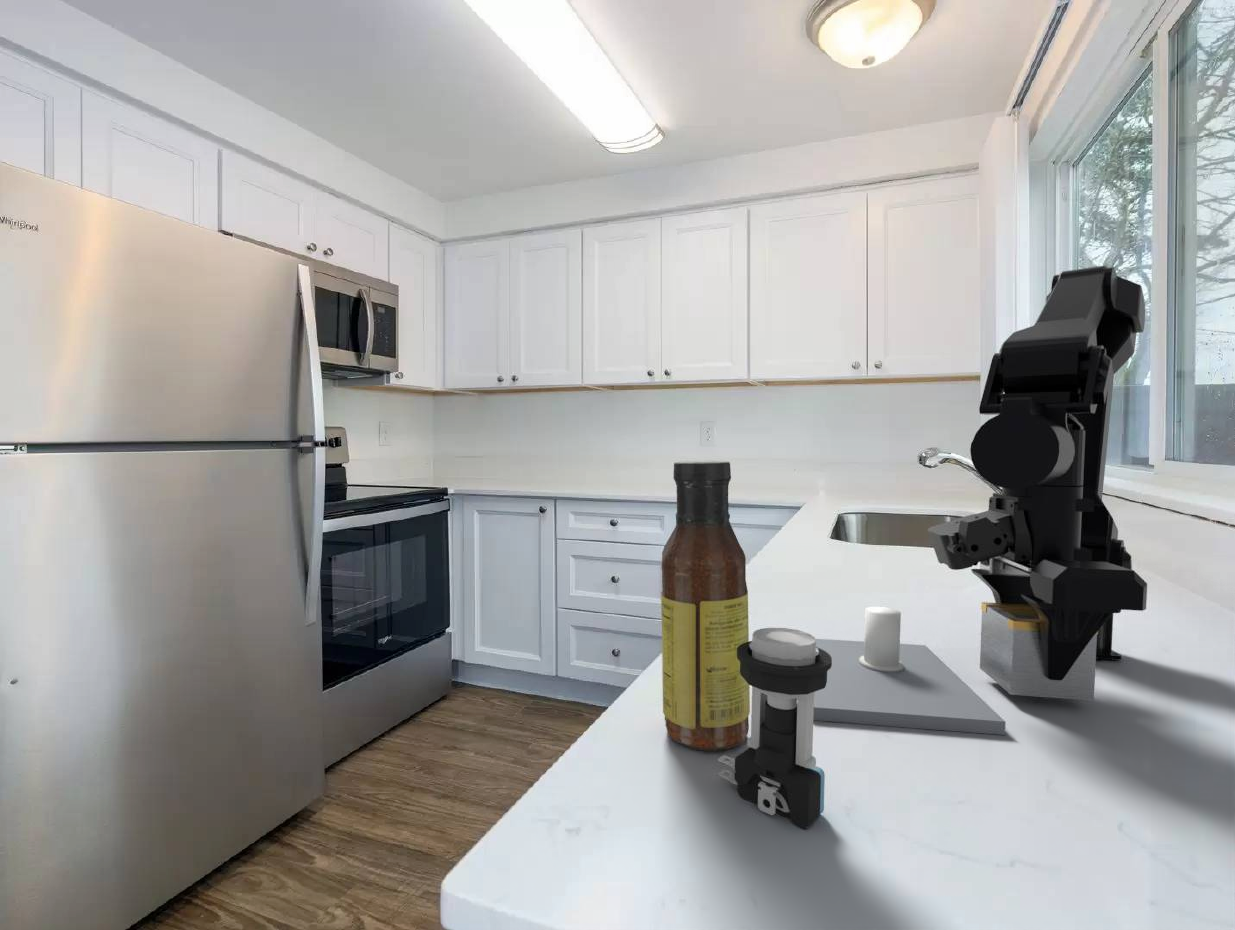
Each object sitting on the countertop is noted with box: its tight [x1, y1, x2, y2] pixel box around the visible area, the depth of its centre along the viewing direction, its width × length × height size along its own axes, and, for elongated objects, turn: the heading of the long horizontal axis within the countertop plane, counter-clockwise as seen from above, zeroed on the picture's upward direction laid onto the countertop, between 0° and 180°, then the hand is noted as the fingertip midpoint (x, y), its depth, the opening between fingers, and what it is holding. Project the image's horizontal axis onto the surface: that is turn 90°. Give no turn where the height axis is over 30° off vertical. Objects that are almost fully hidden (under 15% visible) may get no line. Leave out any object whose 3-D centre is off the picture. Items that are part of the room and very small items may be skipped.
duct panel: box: [813, 606, 1006, 736], centre depth 57 cm, size 14×18×6 cm
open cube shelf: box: [979, 601, 1098, 701], centre depth 55 cm, size 6×6×6 cm
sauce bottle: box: [660, 460, 751, 751], centre depth 46 cm, size 7×6×20 cm
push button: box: [717, 627, 832, 830], centre depth 38 cm, size 7×5×10 cm
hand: (1034, 665), depth 55 cm, fingers closed on open cube shelf, 6 cm apart
